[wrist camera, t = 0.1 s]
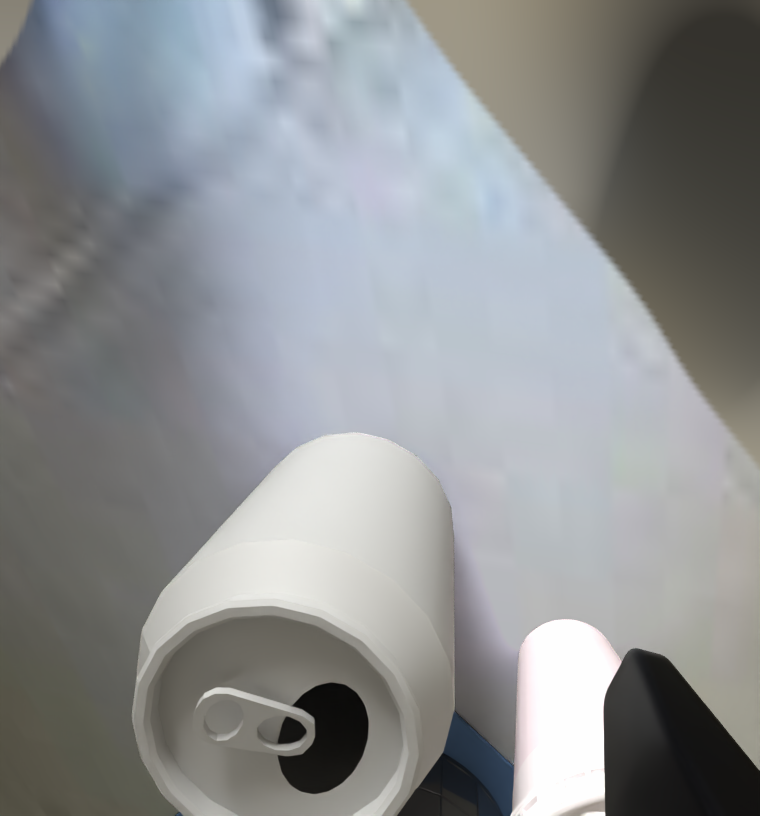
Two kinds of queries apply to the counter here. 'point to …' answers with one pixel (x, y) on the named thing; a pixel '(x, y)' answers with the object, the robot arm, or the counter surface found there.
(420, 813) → the pan
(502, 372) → the counter surface
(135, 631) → the counter surface
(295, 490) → the can
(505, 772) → the napkin
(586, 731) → the smoothie
